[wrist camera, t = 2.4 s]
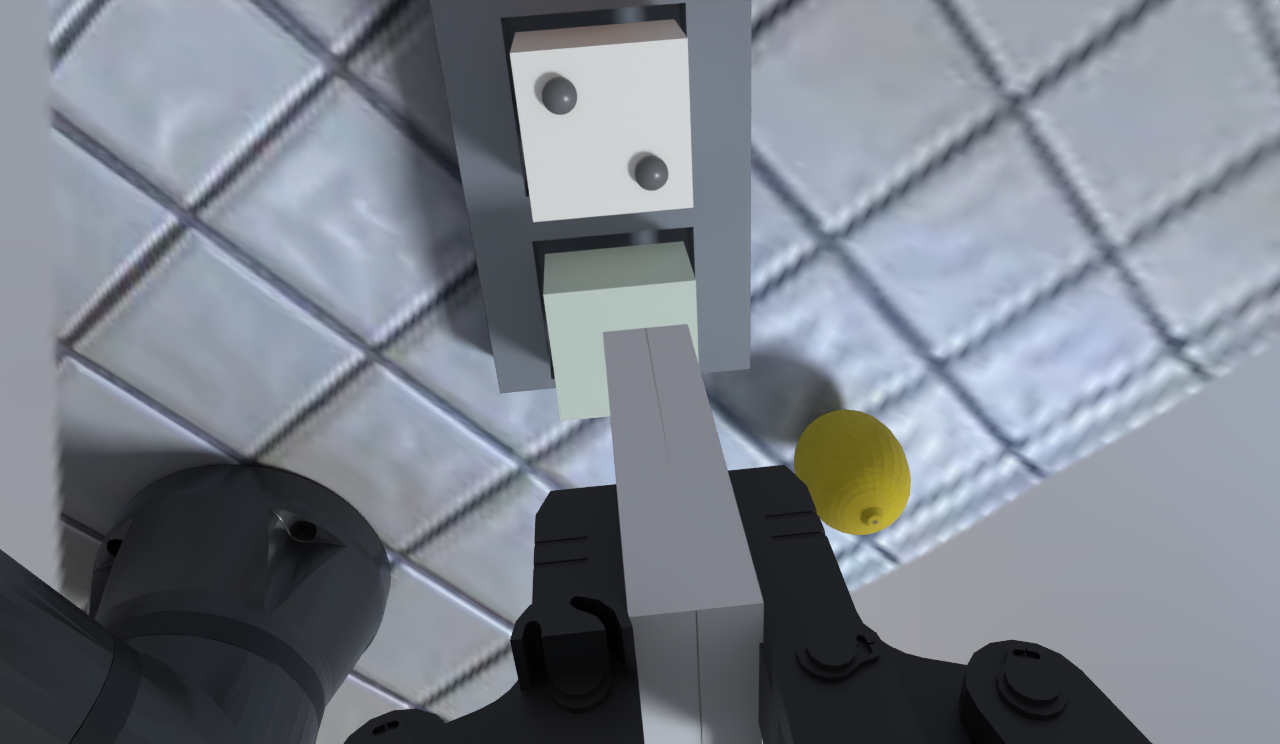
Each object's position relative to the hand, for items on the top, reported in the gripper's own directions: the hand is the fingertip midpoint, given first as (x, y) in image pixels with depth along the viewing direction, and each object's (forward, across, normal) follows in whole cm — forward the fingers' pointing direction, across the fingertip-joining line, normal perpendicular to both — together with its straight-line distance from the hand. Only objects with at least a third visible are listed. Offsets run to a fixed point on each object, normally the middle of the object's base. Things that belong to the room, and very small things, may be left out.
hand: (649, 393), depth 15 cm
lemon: (+25, -11, +19) cm, 33 cm away
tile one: (+21, 0, +9) cm, 23 cm away
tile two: (+21, 0, 0) cm, 21 cm away
